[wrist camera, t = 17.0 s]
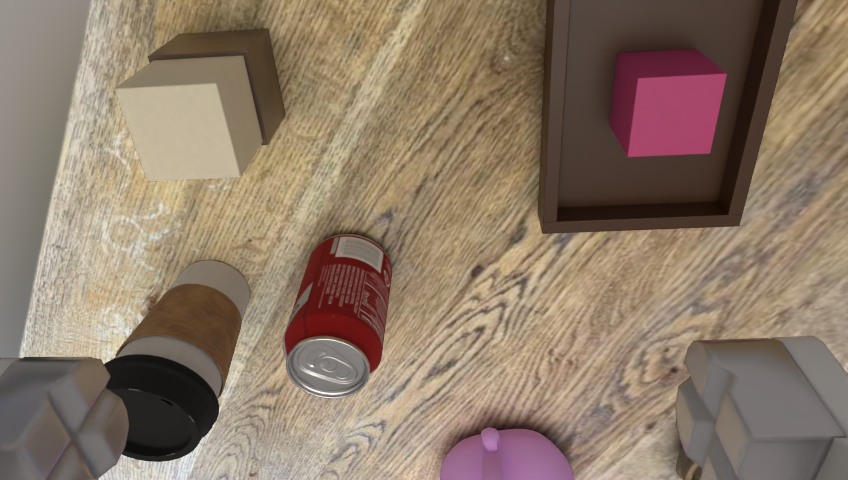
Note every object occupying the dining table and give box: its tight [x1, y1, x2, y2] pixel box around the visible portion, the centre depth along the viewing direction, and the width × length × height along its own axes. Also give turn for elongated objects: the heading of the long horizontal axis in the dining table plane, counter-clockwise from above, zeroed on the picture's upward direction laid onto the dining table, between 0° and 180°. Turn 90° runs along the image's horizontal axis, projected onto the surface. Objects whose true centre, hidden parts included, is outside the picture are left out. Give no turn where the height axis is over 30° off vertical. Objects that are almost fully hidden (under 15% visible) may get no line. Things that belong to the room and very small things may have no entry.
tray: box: [538, 0, 798, 234], centre depth 39 cm, size 20×14×3 cm
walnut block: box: [148, 29, 285, 145], centre depth 39 cm, size 6×6×5 cm
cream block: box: [115, 55, 263, 181], centre depth 35 cm, size 6×6×5 cm
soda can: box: [283, 234, 392, 399], centre depth 44 cm, size 7×7×12 cm
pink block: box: [610, 49, 727, 157], centre depth 38 cm, size 5×5×5 cm
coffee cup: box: [104, 260, 250, 462], centre depth 45 cm, size 8×8×15 cm
